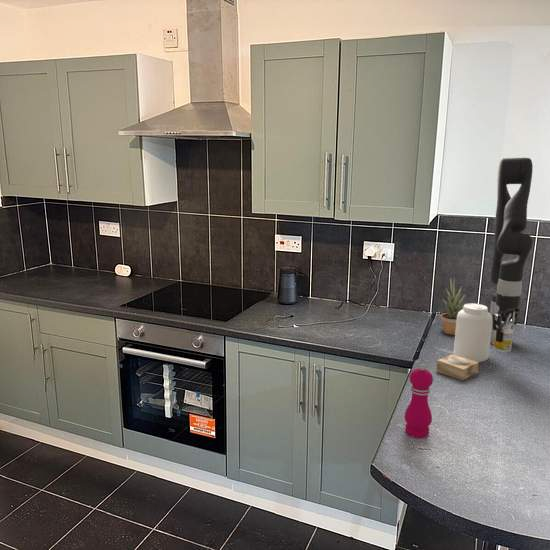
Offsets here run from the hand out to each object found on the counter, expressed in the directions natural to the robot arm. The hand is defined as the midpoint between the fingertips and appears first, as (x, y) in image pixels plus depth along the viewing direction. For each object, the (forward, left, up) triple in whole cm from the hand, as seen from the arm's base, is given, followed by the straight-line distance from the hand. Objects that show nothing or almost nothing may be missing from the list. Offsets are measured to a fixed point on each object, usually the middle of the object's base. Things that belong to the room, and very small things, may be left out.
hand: (503, 339), depth 178 cm
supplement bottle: (0, 0, -4) cm, 4 cm away
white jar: (-7, -15, -13) cm, 21 cm away
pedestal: (+10, -10, -13) cm, 19 cm away
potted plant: (-25, -35, -13) cm, 45 cm away
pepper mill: (+55, +6, -13) cm, 57 cm away
